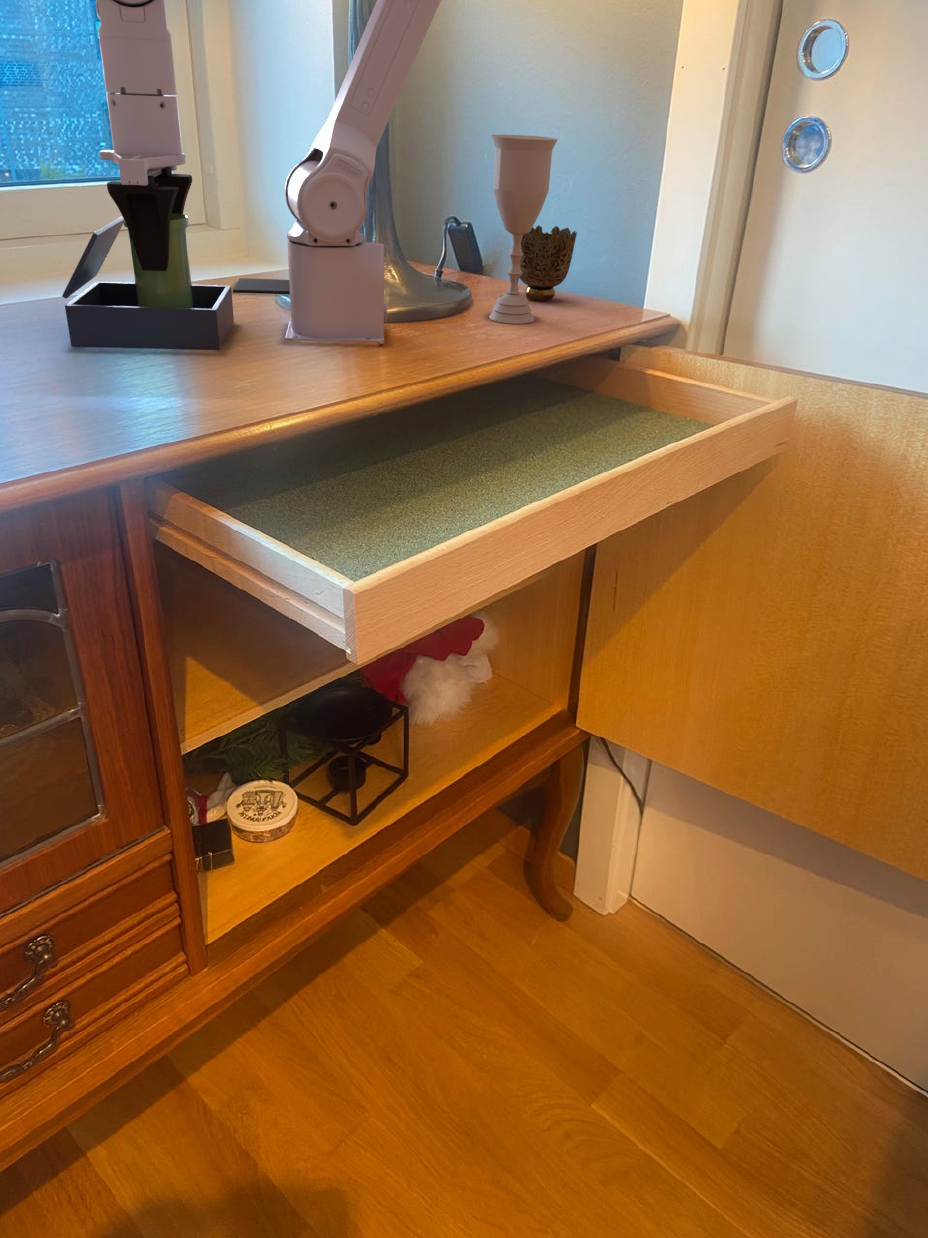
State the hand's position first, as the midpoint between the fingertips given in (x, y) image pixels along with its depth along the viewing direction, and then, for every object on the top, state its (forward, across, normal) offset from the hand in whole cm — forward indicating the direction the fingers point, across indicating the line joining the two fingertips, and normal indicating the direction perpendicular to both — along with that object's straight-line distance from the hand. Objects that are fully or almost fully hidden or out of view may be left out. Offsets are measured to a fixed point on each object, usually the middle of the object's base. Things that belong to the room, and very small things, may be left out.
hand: (161, 263), depth 85 cm
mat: (+7, -25, +7) cm, 27 cm away
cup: (+7, -24, +40) cm, 47 cm away
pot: (+4, 0, 0) cm, 4 cm away
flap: (0, 0, -6) cm, 6 cm away
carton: (+7, 0, -1) cm, 7 cm away
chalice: (+7, -13, +35) cm, 38 cm away
